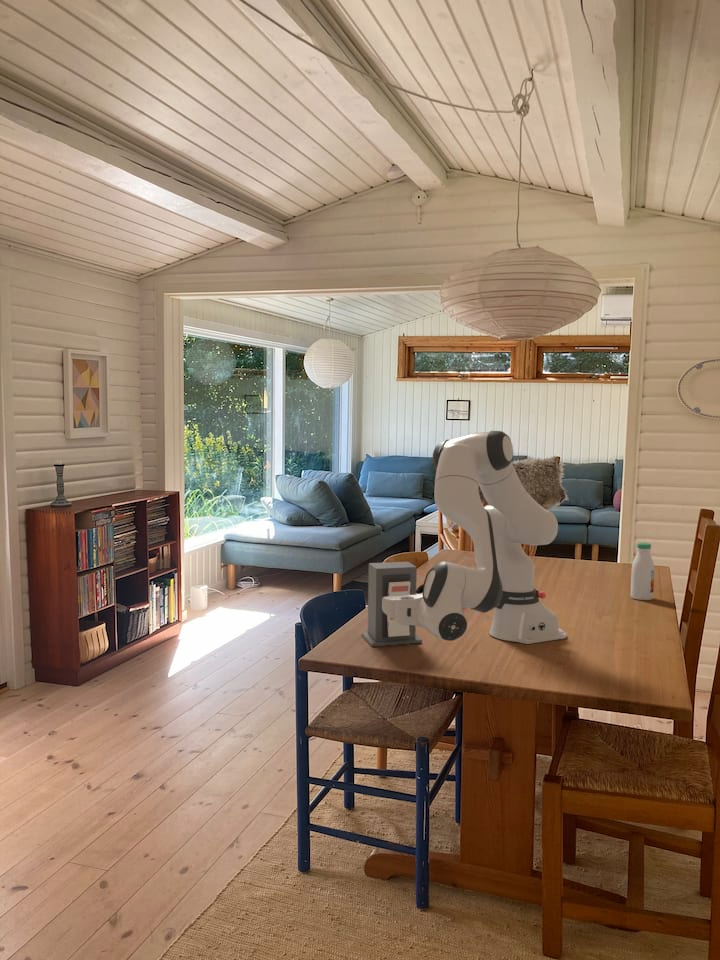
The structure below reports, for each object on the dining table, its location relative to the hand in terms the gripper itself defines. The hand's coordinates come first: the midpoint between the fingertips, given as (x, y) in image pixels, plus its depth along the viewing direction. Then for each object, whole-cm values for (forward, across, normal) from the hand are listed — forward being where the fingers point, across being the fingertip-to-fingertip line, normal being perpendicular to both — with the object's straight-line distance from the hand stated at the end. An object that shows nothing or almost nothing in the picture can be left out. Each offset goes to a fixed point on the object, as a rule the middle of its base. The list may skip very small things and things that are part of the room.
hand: (412, 596), depth 208 cm
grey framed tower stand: (+18, 0, +17) cm, 24 cm away
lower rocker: (+10, 0, +14) cm, 17 cm away
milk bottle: (+46, -103, +18) cm, 114 cm away
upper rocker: (+12, 0, +5) cm, 13 cm away
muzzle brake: (+54, -29, +18) cm, 63 cm away
